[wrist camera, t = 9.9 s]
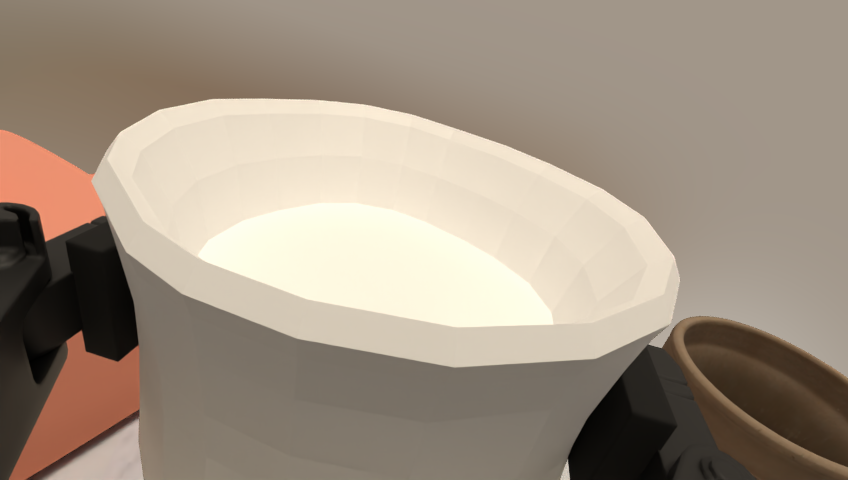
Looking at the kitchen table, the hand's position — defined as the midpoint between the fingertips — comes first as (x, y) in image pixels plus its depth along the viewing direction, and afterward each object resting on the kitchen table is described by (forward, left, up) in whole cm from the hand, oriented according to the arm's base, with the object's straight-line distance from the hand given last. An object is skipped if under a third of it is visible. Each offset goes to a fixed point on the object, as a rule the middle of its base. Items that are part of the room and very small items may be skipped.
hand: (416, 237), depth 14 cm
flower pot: (-20, -9, -17) cm, 28 cm away
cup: (0, +4, -6) cm, 8 cm away
